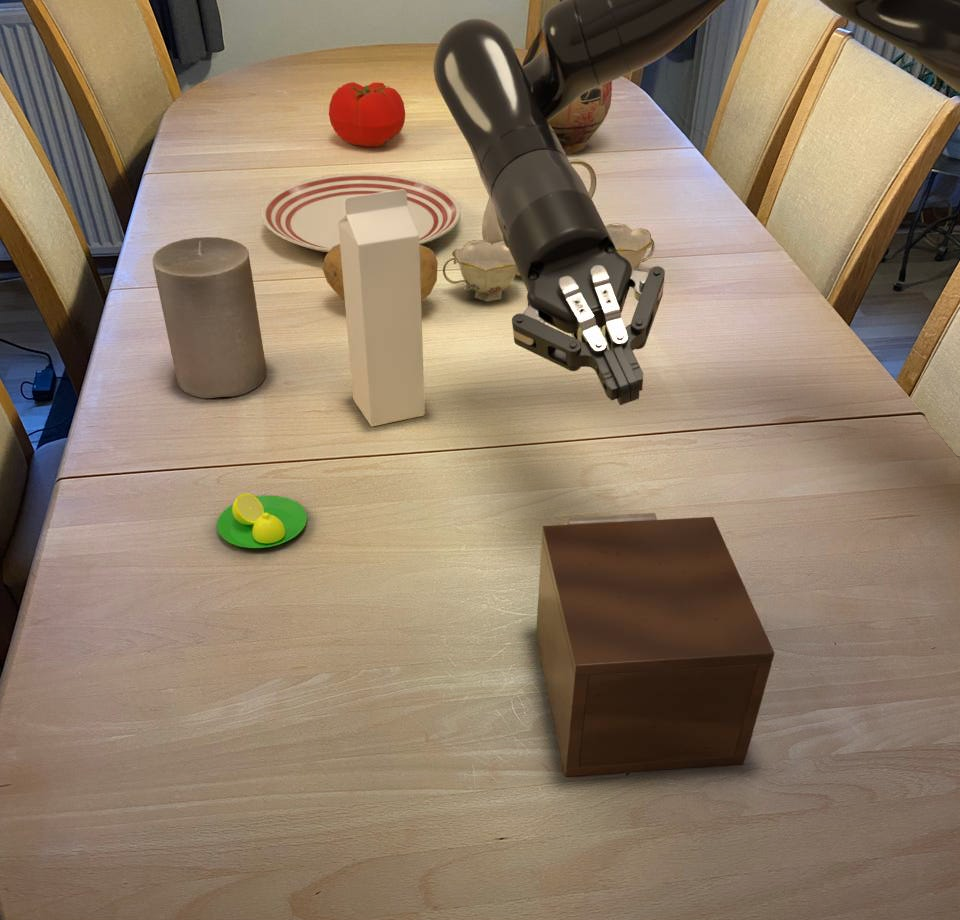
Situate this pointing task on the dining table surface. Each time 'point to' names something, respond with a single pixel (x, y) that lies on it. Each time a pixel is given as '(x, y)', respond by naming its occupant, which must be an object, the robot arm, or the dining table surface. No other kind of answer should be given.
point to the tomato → (366, 113)
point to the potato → (335, 276)
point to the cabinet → (648, 646)
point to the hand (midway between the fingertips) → (630, 395)
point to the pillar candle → (211, 316)
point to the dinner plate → (321, 205)
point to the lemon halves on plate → (261, 521)
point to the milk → (383, 306)
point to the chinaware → (495, 267)
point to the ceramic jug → (576, 110)
